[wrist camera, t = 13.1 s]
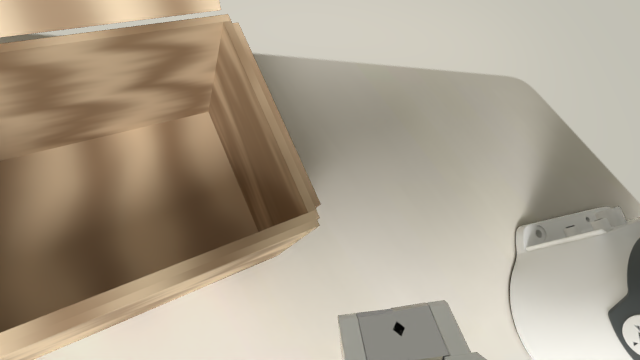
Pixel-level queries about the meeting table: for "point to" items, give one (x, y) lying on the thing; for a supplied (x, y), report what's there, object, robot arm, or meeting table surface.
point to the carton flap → (89, 13)
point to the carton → (135, 176)
